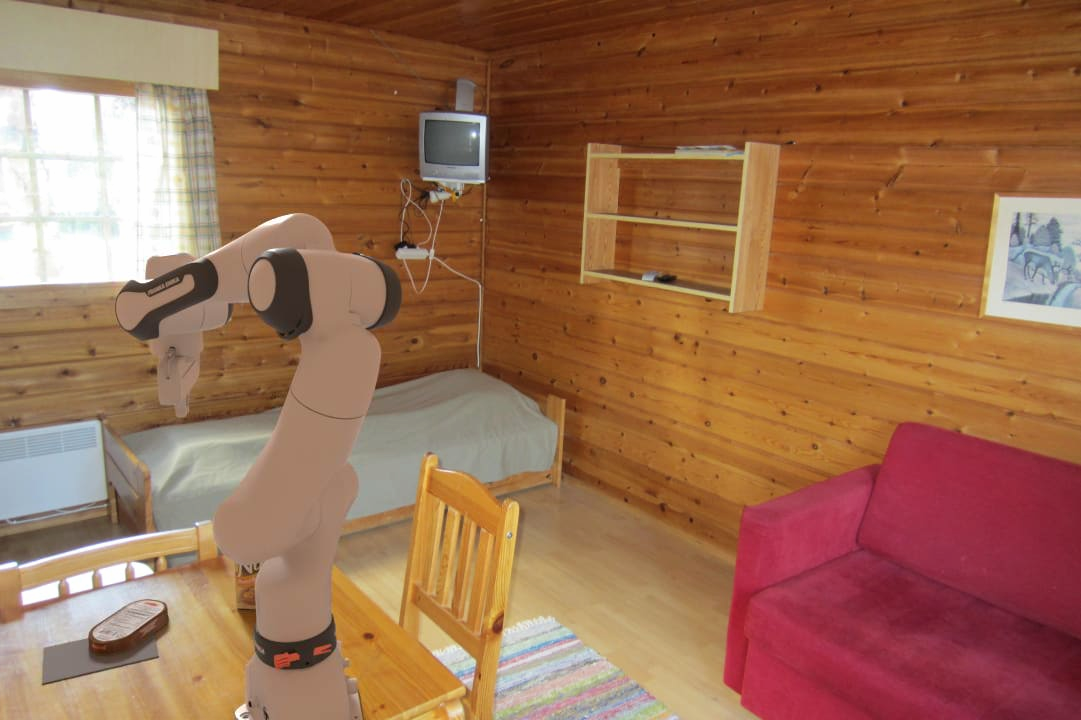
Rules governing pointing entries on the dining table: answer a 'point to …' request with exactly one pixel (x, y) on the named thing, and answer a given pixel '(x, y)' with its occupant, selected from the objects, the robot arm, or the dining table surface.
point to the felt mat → (90, 659)
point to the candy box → (246, 585)
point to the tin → (127, 627)
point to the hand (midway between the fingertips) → (182, 415)
